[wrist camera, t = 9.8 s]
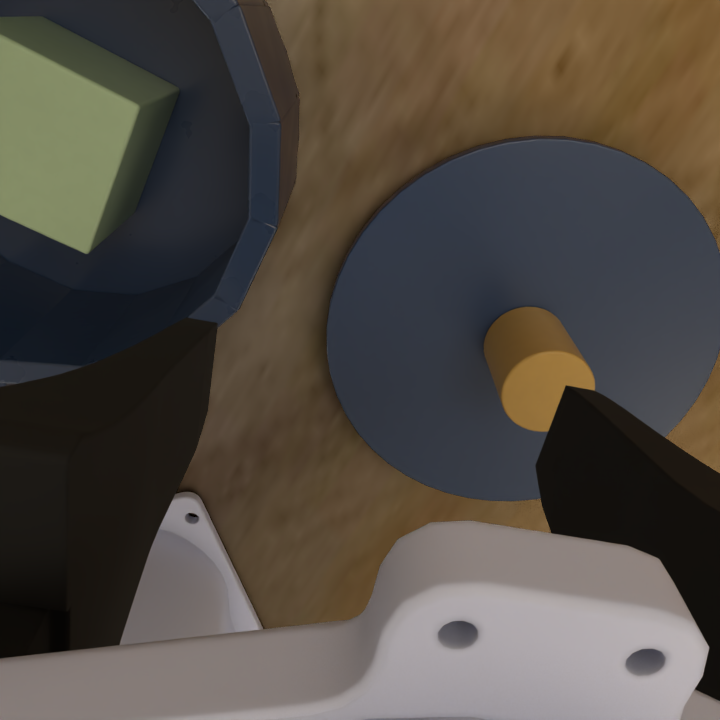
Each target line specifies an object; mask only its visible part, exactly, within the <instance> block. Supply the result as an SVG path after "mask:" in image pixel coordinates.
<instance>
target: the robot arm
mask: <svg viewBox="0 0 720 720" xmlns="http://www.w3.org/2000/svg"><path fill="white" fill-rule="evenodd" d="M217 326H218V323H215V322H209V321H204V320H198V319H193V318H185V319H182V320H180V321H178V322H177V323H175V324H173V325H171V326H169V327H167V328H166V329H164V330H162V331H160V332H158V333H157V334H155V335H153V336H151V337H149V338H147V339H145V340H143V341H141V342H139V343H138V344H136V345H134V346H131V347H129V348H127V349H125V350H122V351H120V352H118V353H116V354H113V355H111V356H109V357H107V358H105V359H102V360H100V361H97V362H95V363H92V364H89V365H87V366H84V367H81V368H78V369H74V370H71V371H68V372H65V373H62V374H58V375H54V376H50V377H46V378H41V379H37V380H32V381H28V382H23V383H19V384H14V385H9V386H2V387H0V720H720V473H718V472H716V471H715V470H713V469H711V468H710V467H708V466H707V465H705V464H704V463H702V462H700V461H699V460H697V459H696V458H694V457H693V456H691V455H690V454H688V453H687V452H685V451H684V450H682V449H681V448H679V447H678V446H676V445H675V444H673V443H672V442H670V441H669V440H668V439H666V438H665V437H663V436H662V435H660V434H659V433H658V432H656V431H655V430H653V429H652V428H651V427H649V426H648V425H646V424H645V423H644V422H642V421H641V420H640V419H638V418H637V417H635V416H634V415H633V414H631V413H630V412H628V411H627V410H626V409H624V408H623V407H621V406H620V405H618V404H617V403H615V402H614V401H612V400H611V399H609V398H607V397H606V396H604V395H602V394H601V393H599V392H597V391H594V390H589V389H584V388H578V387H573V386H567V385H566V386H565V389H564V391H563V394H562V397H561V399H560V402H559V404H558V407H557V410H556V412H555V415H554V418H553V420H552V423H551V426H550V428H549V431H548V433H547V436H546V439H545V441H544V444H543V447H542V449H541V452H540V454H539V457H538V460H537V462H536V465H535V467H536V474H537V480H538V486H539V492H540V497H541V502H542V506H543V509H544V513H545V516H546V519H547V521H548V524H549V527H550V530H551V533H546V532H540V531H534V530H527V529H521V528H515V527H508V526H502V525H496V524H490V523H483V522H477V521H471V520H468V521H448V522H431V523H429V524H427V525H425V526H423V527H421V528H419V529H417V530H415V531H413V532H411V533H409V534H407V535H405V536H403V537H401V538H399V539H397V541H396V542H395V544H394V545H393V547H392V548H391V550H390V551H389V553H388V554H387V556H386V557H385V559H384V560H383V562H382V563H381V565H380V568H379V571H378V575H377V578H376V582H375V585H374V589H373V593H372V596H371V598H370V600H369V602H368V605H367V607H366V609H365V610H364V611H363V612H362V613H361V614H360V615H358V616H356V617H354V618H352V619H349V620H342V621H333V622H324V623H315V624H306V625H297V626H288V627H279V628H270V629H263V627H262V625H261V623H260V621H259V619H258V617H257V615H256V613H255V610H254V608H253V606H252V604H251V602H250V600H249V598H248V596H247V594H246V592H245V590H244V587H243V585H242V583H241V581H240V579H239V577H238V575H237V573H236V571H235V569H234V567H233V565H232V562H231V560H230V558H229V556H228V554H227V552H226V550H225V548H224V546H223V544H222V542H221V539H220V537H219V535H218V533H217V531H216V529H215V527H214V525H213V523H212V521H211V519H210V516H209V514H208V512H207V510H206V508H205V506H204V504H203V502H202V500H201V498H200V497H199V496H198V495H197V494H195V493H192V492H181V493H177V494H176V492H177V489H178V487H179V485H180V483H181V481H182V479H183V477H184V475H185V472H186V470H187V468H188V466H189V464H190V462H191V459H192V457H193V455H194V453H195V451H196V448H197V445H198V442H199V438H200V435H201V432H202V429H203V425H204V422H205V418H206V415H207V412H208V404H209V396H210V387H211V378H212V369H213V361H214V352H215V343H216V334H217ZM188 513H194V514H196V515H197V516H198V517H192V516H190V515H189V514H188Z"/></svg>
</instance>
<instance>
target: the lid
mask: <svg viewBox="0 0 720 720" xmlns="http://www.w3.org/2000/svg"><path fill="white" fill-rule="evenodd" d="M719 350H720V253H719V250H718V246H717V243H716V240H715V238H714V236H713V234H712V232H711V230H710V229H709V227H708V225H707V223H706V221H705V219H704V217H703V216H702V214H701V213H700V212H699V210H698V209H697V208H696V206H695V205H694V204H693V202H692V201H691V200H690V198H689V197H688V196H687V195H686V194H685V193H684V192H683V191H682V190H681V189H680V188H679V187H678V186H677V185H675V184H674V183H673V182H672V181H671V180H670V179H669V178H668V177H666V176H665V175H663V174H662V173H660V172H659V171H658V170H656V169H655V168H653V167H652V166H650V165H649V164H647V163H645V162H644V161H642V160H640V159H638V158H635V157H633V156H631V155H629V154H627V153H625V152H623V151H621V150H619V149H616V148H613V147H610V146H607V145H603V144H600V143H597V142H594V141H590V140H583V139H577V138H571V137H565V136H528V137H519V138H510V139H504V140H500V141H496V142H492V143H488V144H484V145H480V146H476V147H473V148H471V149H468V150H466V151H463V152H461V153H458V154H456V155H453V156H450V157H448V158H446V159H444V160H443V161H441V162H439V163H437V164H435V165H434V166H432V167H430V168H428V169H426V170H424V171H423V172H421V173H420V174H419V175H417V176H416V177H414V178H413V179H412V180H410V181H409V182H408V183H406V184H405V185H403V186H402V187H401V188H399V189H398V190H397V191H396V192H395V193H394V194H393V195H392V196H391V197H390V198H389V199H388V200H387V201H386V202H385V203H383V204H382V205H381V206H380V207H379V208H378V210H377V211H376V212H375V213H374V214H373V216H372V217H371V218H370V219H369V221H368V222H367V223H366V224H365V225H364V227H363V228H362V229H361V231H360V232H359V234H358V236H357V237H356V239H355V241H354V242H353V244H352V245H351V247H350V249H349V250H348V252H347V254H346V257H345V259H344V261H343V263H342V266H341V268H340V270H339V272H338V275H337V278H336V281H335V285H334V288H333V292H332V295H331V299H330V305H329V313H328V320H327V357H328V363H329V370H330V375H331V378H332V382H333V385H334V388H335V392H336V395H337V397H338V399H339V401H340V403H341V405H342V408H343V410H344V412H345V414H346V416H347V417H348V419H349V420H350V422H351V423H352V425H353V426H354V428H355V429H356V431H357V432H358V434H359V435H360V436H361V437H362V438H363V439H364V441H365V442H366V443H367V444H368V445H369V446H370V447H371V449H372V450H374V451H375V452H376V453H377V454H378V455H379V456H380V457H382V458H383V459H384V460H385V461H386V462H387V463H388V464H390V465H391V466H393V467H394V468H396V469H397V470H399V471H400V472H402V473H403V474H405V475H406V476H408V477H410V478H412V479H414V480H416V481H418V482H420V483H422V484H424V485H426V486H429V487H432V488H435V489H437V490H440V491H443V492H446V493H450V494H454V495H458V496H462V497H466V498H473V499H481V500H489V501H520V500H532V499H540V498H541V497H540V492H539V486H538V480H537V474H536V467H535V465H536V462H537V460H538V457H539V454H540V452H541V449H542V447H543V444H544V441H545V439H546V436H547V433H548V431H549V428H550V426H551V423H552V420H553V418H554V415H555V412H556V410H557V407H558V404H559V402H560V399H561V397H562V394H563V391H564V389H565V386H566V385H567V386H573V387H578V388H584V389H589V390H594V391H597V392H599V393H601V394H602V395H604V396H606V397H607V398H609V399H611V400H612V401H614V402H615V403H617V404H618V405H620V406H621V407H623V408H624V409H626V410H627V411H628V412H630V413H631V414H633V415H634V416H635V417H637V418H638V419H640V420H641V421H642V422H644V423H645V424H646V425H648V426H649V427H651V428H652V429H653V430H655V431H656V432H658V433H659V434H660V435H662V436H663V437H666V436H667V435H668V434H669V432H670V431H671V430H672V429H673V428H674V427H675V426H676V425H677V424H678V423H679V422H680V421H681V420H682V418H683V417H684V416H685V414H686V413H687V412H688V410H689V409H690V408H691V407H692V405H693V404H694V403H695V401H696V399H697V398H698V396H699V394H700V393H701V391H702V389H703V388H704V386H705V384H706V382H707V381H708V378H709V376H710V374H711V371H712V369H713V367H714V365H715V362H716V360H717V357H718V354H719Z"/></svg>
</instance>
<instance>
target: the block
mask: <svg viewBox="0 0 720 720" xmlns="http://www.w3.org/2000/svg"><path fill="white" fill-rule="evenodd" d="M179 93H180V89H179V88H178V87H176V86H175V85H173V84H171V83H169V82H167V81H165V80H163V79H161V78H159V77H157V76H155V75H153V74H152V73H150V72H148V71H146V70H144V69H142V68H140V67H138V66H136V65H134V64H132V63H131V62H129V61H127V60H125V59H123V58H121V57H119V56H117V55H115V54H113V53H111V52H109V51H108V50H106V49H104V48H102V47H100V46H98V45H96V44H94V43H92V42H90V41H88V40H86V39H85V38H83V37H81V36H79V35H77V34H75V33H73V32H71V31H69V30H67V29H65V28H63V27H62V26H60V25H58V24H56V23H54V22H52V21H50V20H48V19H46V18H44V17H42V16H26V17H0V215H1V216H3V217H6V218H8V219H10V220H12V221H14V222H17V223H19V224H21V225H23V226H25V227H28V228H30V229H32V230H34V231H36V232H38V233H41V234H43V235H45V236H47V237H49V238H52V239H54V240H56V241H58V242H60V243H63V244H65V245H67V246H69V247H71V248H74V249H76V250H78V251H80V252H82V253H85V254H89V253H90V252H91V251H92V250H93V249H94V248H95V247H96V246H98V245H99V244H100V243H101V242H102V241H103V240H104V239H105V238H107V237H108V236H109V235H110V234H111V233H112V232H113V231H114V230H116V229H117V228H118V227H119V226H120V225H121V224H122V223H123V222H125V221H126V220H127V219H128V218H129V217H130V216H131V215H132V214H134V213H135V210H136V207H137V205H138V202H139V199H140V197H141V194H142V191H143V189H144V186H145V183H146V181H147V178H148V175H149V173H150V170H151V167H152V165H153V162H154V159H155V157H156V154H157V151H158V149H159V146H160V143H161V141H162V138H163V135H164V133H165V130H166V127H167V125H168V122H169V119H170V117H171V114H172V111H173V109H174V106H175V103H176V101H177V98H178V95H179Z"/></svg>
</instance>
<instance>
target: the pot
mask: <svg viewBox="0 0 720 720" xmlns="http://www.w3.org/2000/svg"><path fill="white" fill-rule="evenodd" d="M26 16H42V17H44V18H46V19H48V20H50V21H52V22H54V23H56V24H58V25H60V26H62V27H63V28H65V29H67V30H69V31H71V32H73V33H75V34H77V35H79V36H81V37H83V38H85V39H86V40H88V41H90V42H92V43H94V44H96V45H98V46H100V47H102V48H104V49H106V50H108V51H109V52H111V53H113V54H115V55H117V56H119V57H121V58H123V59H125V60H127V61H129V62H131V63H132V64H134V65H136V66H138V67H140V68H142V69H144V70H146V71H148V72H150V73H152V74H153V75H155V76H157V77H159V78H161V79H163V80H165V81H167V82H169V83H171V84H173V85H175V86H176V87H178V88H179V89H180V93H179V95H178V98H177V101H176V103H175V106H174V109H173V111H172V114H171V117H170V119H169V122H168V125H167V127H166V130H165V133H164V135H163V138H162V141H161V143H160V146H159V149H158V151H157V154H156V157H155V159H154V162H153V165H152V167H151V170H150V173H149V175H148V178H147V181H146V183H145V186H144V189H143V191H142V194H141V197H140V199H139V202H138V205H137V207H136V210H135V213H134V214H132V215H131V216H130V217H129V218H128V219H127V220H126V221H125V222H123V223H122V224H121V225H120V226H119V227H118V228H117V229H116V230H114V231H113V232H112V233H111V234H110V235H109V236H108V237H107V238H105V239H104V240H103V241H102V242H101V243H100V244H99V245H98V246H96V247H95V248H94V249H93V250H92V251H91V252H90V253H89V254H85V253H82V252H80V251H78V250H76V249H74V248H71V247H69V246H67V245H65V244H63V243H60V242H58V241H56V240H54V239H52V238H49V237H47V236H45V235H43V234H41V233H38V232H36V231H34V230H32V229H30V228H28V227H25V226H23V225H21V224H19V223H17V222H14V221H12V220H10V219H8V218H6V217H3V216H1V215H0V387H2V386H9V385H14V384H19V383H23V382H28V381H32V380H37V379H41V378H46V377H50V376H54V375H58V374H62V373H65V372H68V371H71V370H74V369H78V368H81V367H84V366H87V365H89V364H92V363H95V362H97V361H100V360H102V359H105V358H107V357H109V356H111V355H113V354H116V353H118V352H120V351H122V350H125V349H127V348H129V347H131V346H134V345H136V344H138V343H139V342H141V341H143V340H145V339H147V338H149V337H151V336H153V335H155V334H157V333H158V332H160V331H162V330H164V329H166V328H167V327H169V326H171V325H173V324H175V323H177V322H178V321H180V320H182V319H185V318H193V319H198V320H204V321H209V322H215V323H218V326H217V328H218V327H219V326H221V325H222V324H223V323H224V322H225V321H226V320H228V319H229V318H230V317H231V316H232V315H234V314H235V313H236V312H237V310H239V309H240V307H241V305H242V302H243V300H244V298H245V296H246V294H247V292H248V290H249V288H250V286H251V283H252V281H253V279H254V277H255V275H256V273H257V271H258V269H259V267H260V264H261V262H262V260H263V258H264V256H265V254H266V252H267V250H268V248H269V245H270V243H271V241H272V239H273V237H274V235H275V233H276V231H277V228H278V226H279V223H280V221H281V218H282V215H283V213H284V210H285V208H286V205H287V203H288V200H289V197H290V195H291V192H292V190H293V187H294V184H295V180H296V171H297V152H298V142H299V101H300V99H299V97H298V96H299V92H298V89H297V86H296V83H295V80H294V77H293V73H292V70H291V66H290V62H289V59H288V55H287V51H286V49H285V46H284V44H283V41H282V39H281V36H280V34H279V31H278V29H277V26H276V24H275V21H274V18H273V15H272V12H271V9H270V7H269V6H268V3H267V2H266V1H265V0H0V17H26Z"/></svg>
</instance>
